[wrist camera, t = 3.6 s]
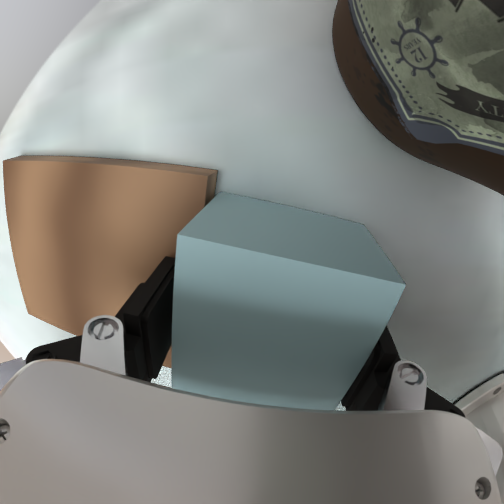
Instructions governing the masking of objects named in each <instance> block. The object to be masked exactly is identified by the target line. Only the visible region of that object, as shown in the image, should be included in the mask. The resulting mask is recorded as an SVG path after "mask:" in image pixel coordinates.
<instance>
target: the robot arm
mask: <svg viewBox="0 0 504 504" xmlns="http://www.w3.org/2000/svg"><path fill="white" fill-rule="evenodd" d="M174 272H175V258H173V257H168V256H165V257H164V259H163V260H162V261H161V262H160V264H159V265H158V266H157V268H156V269H155V270H154V271H153V273H152V274H151V275H150V277H149V278H148V279H147V280H146V282H145V283H140V284H139V285H138V286H137V288H136V289H135V290H134V292H133V293H132V294H131V295H130V297H129V298H128V299H127V301H126V302H125V303H124V305H123V306H122V307H121V309H120V310H119V311H118V313H117V314H116V315H115V317H114V316H110V315H101V316H96V317H94V318H92V319H90V320H89V321H88V322H87V323H86V324H85V326H84V329H83V335H80V336H76V337H73V338H69V339H65V340H61V341H58V342H54V343H50V344H46V345H42V346H39V347H36V348H34V349H33V350H32V351H30V353H29V354H28V355H27V358H26V360H23V359H22V357H21V358H17V359H14V360H11V361H8V362H4V363H0V504H504V373H502V374H500V375H498V376H496V377H494V378H492V379H491V380H489V381H487V382H485V383H484V384H482V385H481V386H479V387H478V388H476V389H475V390H473V391H472V392H470V393H469V394H468V395H466V396H465V397H463V398H462V399H461V400H459V401H458V402H457V403H456V404H452V403H450V402H449V401H447V400H446V399H444V398H443V397H441V396H440V395H438V394H437V393H435V392H434V391H432V390H431V389H429V388H428V387H427V375H426V373H425V371H424V370H423V368H422V367H421V366H419V365H418V364H417V363H415V362H413V361H409V360H402V361H401V359H400V357H399V354H398V352H397V349H396V347H395V344H394V342H393V340H392V337H391V335H390V333H389V330H388V328H387V326H386V327H385V329H384V331H383V332H382V334H381V336H380V338H379V340H378V342H377V343H376V345H375V347H374V349H373V350H372V352H371V354H370V356H369V357H368V359H367V361H366V362H365V364H364V366H363V367H362V369H361V371H360V372H359V374H358V375H357V377H356V379H355V380H354V382H353V383H352V385H351V386H350V388H349V389H348V391H347V392H346V394H345V395H344V397H343V398H342V400H341V403H342V406H345V407H346V411H335V410H314V409H300V408H288V407H278V406H269V405H261V404H254V403H247V402H240V401H234V400H228V399H222V398H217V397H211V396H206V395H201V394H196V393H192V392H187V391H183V390H178V389H174V388H170V387H166V386H162V385H158V384H154V383H151V380H152V378H154V379H156V378H157V376H158V374H159V372H160V369H161V367H162V365H163V363H164V360H165V358H166V356H167V353H168V351H169V349H170V347H171V344H172V311H173V289H174Z"/></svg>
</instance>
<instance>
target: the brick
mask: <svg viewBox="0 0 504 504" xmlns="http://www.w3.org/2000/svg"><path fill="white" fill-rule="evenodd" d="M405 286H406V284H405V282H404V281H403V279H402V278H401V276H400V275H399V273H398V272H397V270H396V269H395V268H394V266H393V265H392V263H391V262H390V260H389V259H388V257H387V256H386V255H385V253H384V252H383V250H382V249H381V248H380V246H379V245H378V244H377V242H376V241H375V239H374V238H373V237H372V235H371V234H370V233H369V231H368V230H367V229H366V227H365V226H364V225H363V224H360V223H356V222H352V221H349V220H345V219H341V218H337V217H333V216H329V215H325V214H321V213H317V212H313V211H308V210H304V209H300V208H296V207H291V206H287V205H283V204H278V203H274V202H269V201H265V200H260V199H255V198H250V197H246V196H241V195H236V194H231V193H226V192H220V193H219V194H218V195H217V196H215V197H214V198H213V199H212V200H211V201H210V202H209V203H208V204H207V205H206V206H205V207H204V208H203V209H202V210H201V211H200V212H199V213H198V214H197V215H196V216H195V217H194V218H193V219H192V220H191V221H190V222H189V223H188V224H187V225H186V226H185V227H184V228H183V229H182V230H181V231H180V232H179V233H178V234H177V245H176V258H175V272H174V289H173V311H172V388H174V389H178V390H183V391H187V392H192V393H196V394H201V395H206V396H211V397H217V398H222V399H228V400H234V401H240V402H247V403H254V404H261V405H269V406H278V407H288V408H300V409H314V410H335V408H336V407H337V406H338V404H339V403H340V401H341V400H342V398H343V397H344V395H345V394H346V392H347V391H348V389H349V388H350V386H351V385H352V383H353V382H354V380H355V379H356V377H357V375H358V374H359V372H360V371H361V369H362V367H363V366H364V364H365V362H366V361H367V359H368V357H369V356H370V354H371V352H372V350H373V349H374V347H375V345H376V343H377V342H378V340H379V338H380V336H381V334H382V332H383V331H384V329H385V327H386V325H387V323H388V321H389V319H390V317H391V315H392V313H393V311H394V309H395V307H396V305H397V303H398V301H399V299H400V297H401V295H402V293H403V290H404V288H405Z"/></svg>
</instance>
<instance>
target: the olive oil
mask: <svg viewBox="0 0 504 504" xmlns="http://www.w3.org/2000/svg"><path fill="white" fill-rule="evenodd" d="M332 33H333V45H334V51H335V56H336V60H337V63H338V67H339V70H340V72H341V75H342V77H343V80H344V82H345V84H346V86H347V88H348V90H349V92H350V93H351V95H352V97H353V98H354V100H355V102H356V103H357V105H358V106H359V108H360V109H361V110H362V112H363V113H364V114H365V115H366V117H367V118H368V119H369V120H370V121H371V123H372V124H373V125H374V126H375V127H376V128H377V129H378V130H379V131H380V132H381V133H382V134H383V135H384V136H385V137H387V138H388V139H389V140H390V141H391V142H393V143H394V144H395V145H397V146H398V147H400V148H401V149H402V150H404V151H406V152H407V153H409V154H411V155H413V156H414V157H416V158H419V159H421V160H423V161H425V162H428V163H430V164H433V165H436V166H438V167H441V168H444V169H446V170H449V171H451V172H454V173H456V174H459V175H461V176H463V177H466V178H468V179H470V180H473V181H475V182H477V183H479V184H482V185H484V186H486V187H488V188H490V189H492V190H494V191H496V192H498V193H500V194H502V195H504V0H338V3H337V6H336V10H335V14H334V19H333V30H332Z"/></svg>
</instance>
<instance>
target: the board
mask: <svg viewBox="0 0 504 504" xmlns="http://www.w3.org/2000/svg"><path fill="white" fill-rule="evenodd" d="M217 171H218V170H212V169H205V168H198V167H190V166H182V165H174V164H165V163H156V162H146V161H135V160H123V159H110V158H94V157H73V156H18V157H15V158H11V159H7V160H4V161H3V177H4V193H5V204H6V213H7V221H8V228H9V235H10V241H11V247H12V252H13V257H14V262H15V266H16V271H17V275H18V279H19V283H20V287H21V290H22V294H23V298H24V301H25V304H26V308H27V311H28V314H30V315H32V316H34V317H36V318H39V319H41V320H43V321H45V322H47V323H49V324H51V325H53V326H56V327H58V328H60V329H62V330H65V331H67V332H69V333H72V334H74V335H76V336H80V335H83V329H84V326H85V324H86V323H87V322H88V321H89V320H90V319H92V318H94V317H96V316H101V315H110V316H114V317H115V315H116V314H117V313H118V311H119V310H120V309H121V307H122V306H123V305H124V303H125V302H126V301H127V299H128V298H129V297H130V295H131V294H132V293H133V292H134V290H135V289H136V288H137V286H138V285H139V284H140V283H145V282H146V280H147V279H148V278H149V277H150V275H151V274H152V273H153V271H154V270H155V269H156V268H157V266H158V265H159V264H160V262H161V261H162V260H163V259H164V257H165V256H168V257H173V258H176V245H177V234H178V233H179V232H180V231H181V230H182V229H183V228H184V227H185V226H186V225H187V224H188V223H189V222H190V221H191V220H192V219H193V218H194V217H195V216H196V215H197V214H198V213H199V212H200V211H201V210H202V209H203V208H204V207H205V206H206V205H207V204H208V203H209V202H210V201H211V200H212V199H213V198H214V194H215V186H216V179H217ZM162 366H165V367H169V368H172V344H171V347H170V349H169V351H168V353H167V356H166V358H165V360H164V363H163V365H162Z"/></svg>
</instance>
